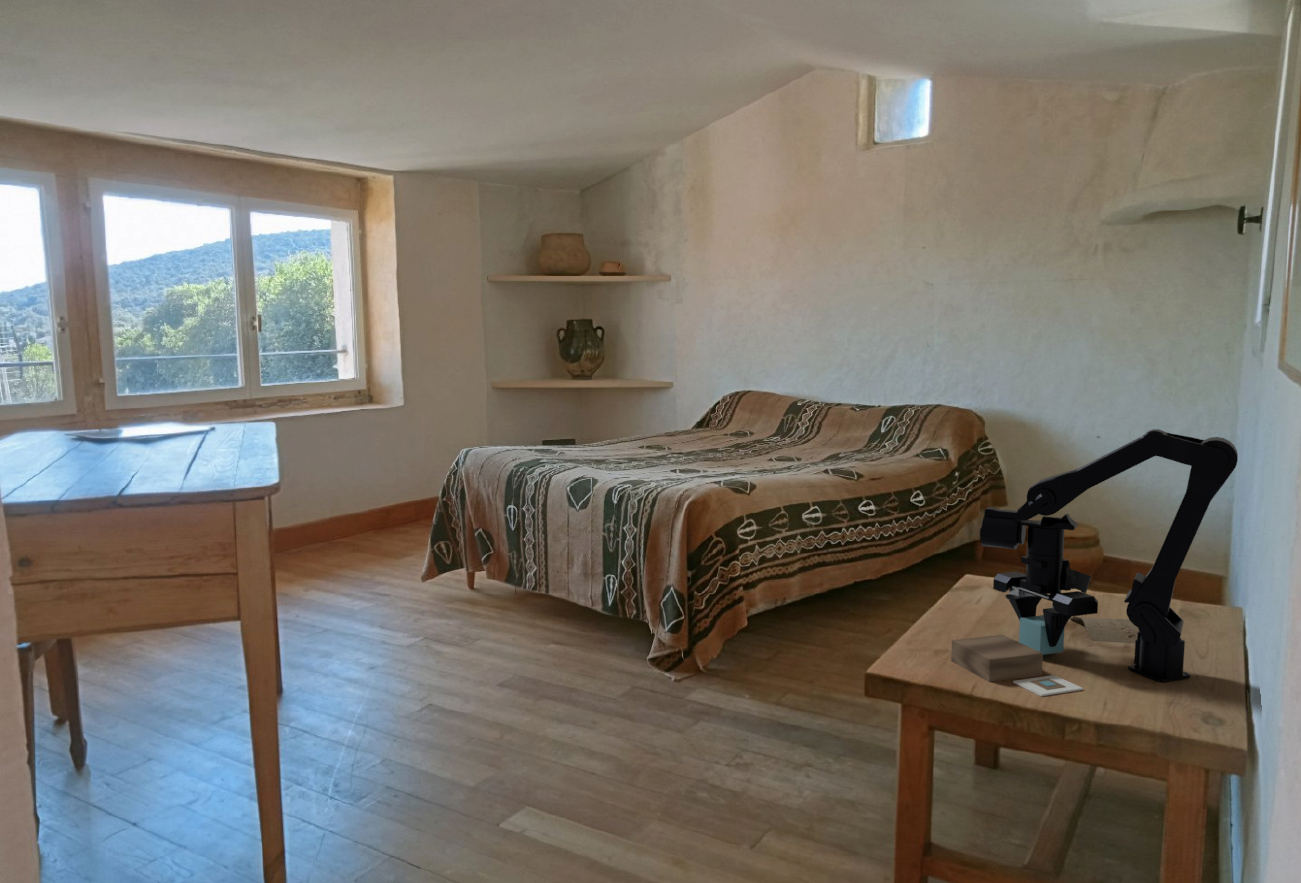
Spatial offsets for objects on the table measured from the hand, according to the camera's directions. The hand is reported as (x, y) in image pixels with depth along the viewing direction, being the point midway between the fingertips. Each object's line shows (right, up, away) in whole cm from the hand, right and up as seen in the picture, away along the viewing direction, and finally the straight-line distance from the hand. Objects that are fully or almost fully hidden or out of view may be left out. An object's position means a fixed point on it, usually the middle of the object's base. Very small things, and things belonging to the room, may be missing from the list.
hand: (1041, 641), depth 157 cm
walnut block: (-10, -3, -7) cm, 13 cm away
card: (-5, -4, -15) cm, 16 cm away
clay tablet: (+18, -2, +13) cm, 22 cm away
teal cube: (0, -1, 0) cm, 1 cm away
